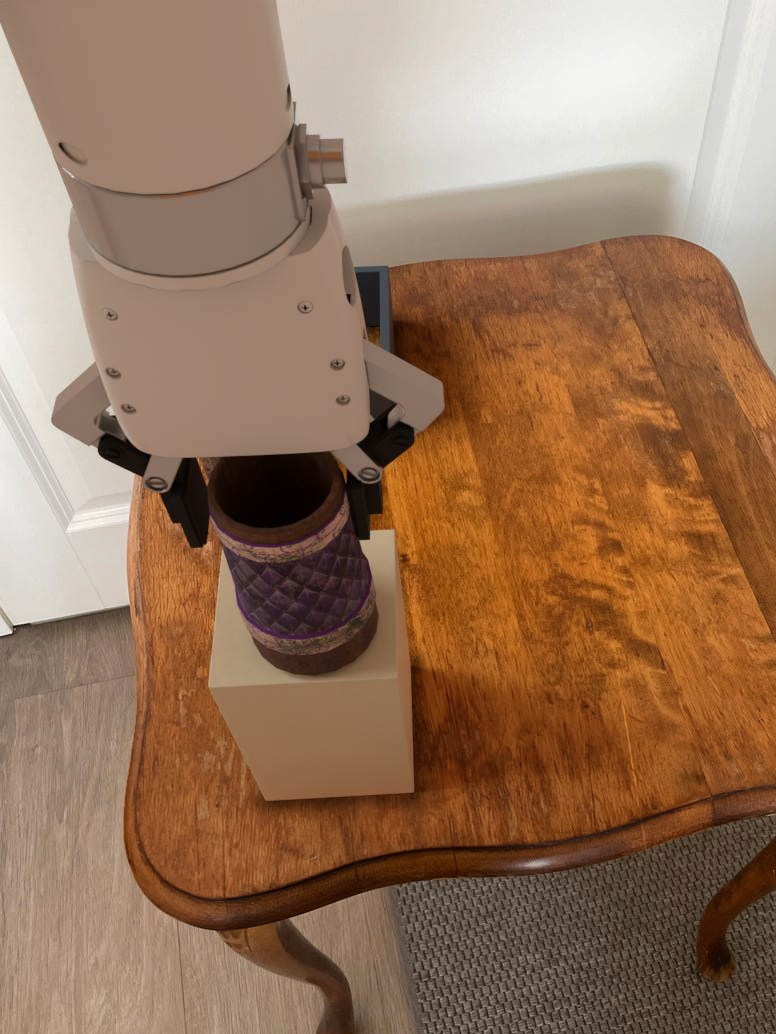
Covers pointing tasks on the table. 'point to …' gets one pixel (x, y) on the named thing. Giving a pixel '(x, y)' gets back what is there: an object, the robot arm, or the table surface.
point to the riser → (321, 701)
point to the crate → (377, 317)
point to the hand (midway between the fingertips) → (282, 519)
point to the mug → (294, 558)
